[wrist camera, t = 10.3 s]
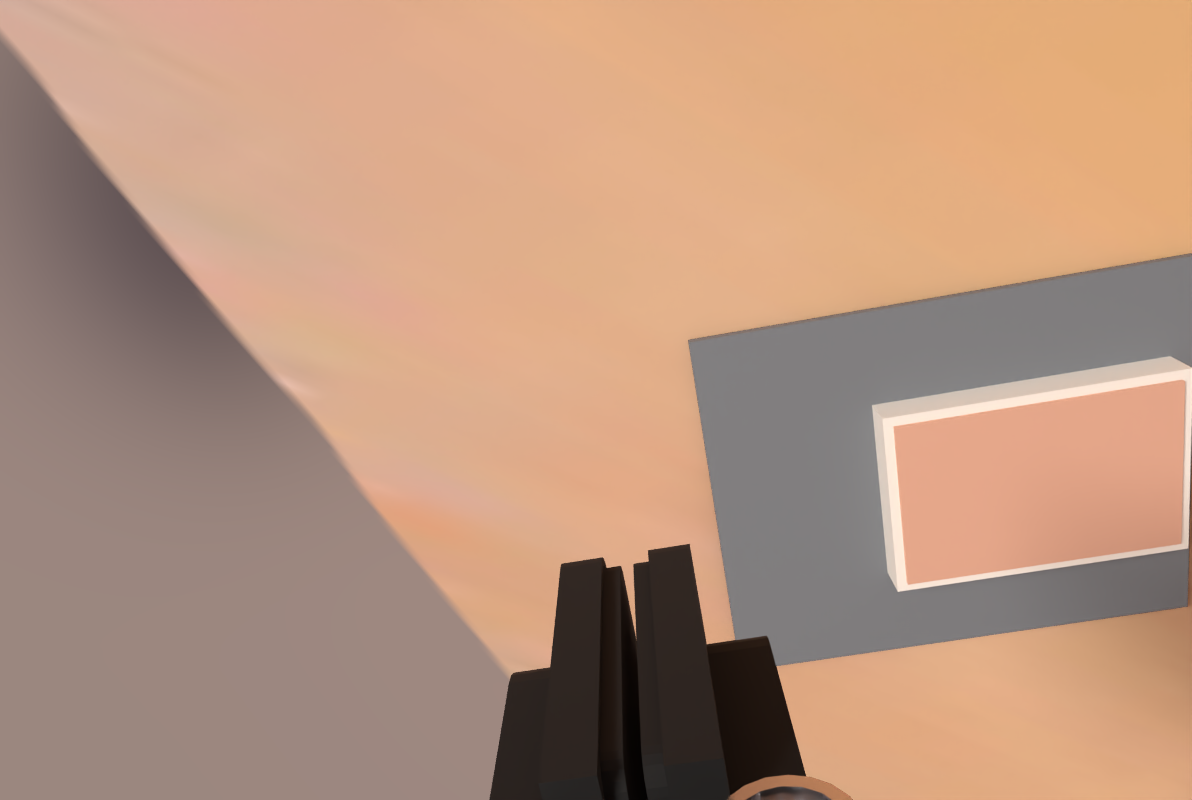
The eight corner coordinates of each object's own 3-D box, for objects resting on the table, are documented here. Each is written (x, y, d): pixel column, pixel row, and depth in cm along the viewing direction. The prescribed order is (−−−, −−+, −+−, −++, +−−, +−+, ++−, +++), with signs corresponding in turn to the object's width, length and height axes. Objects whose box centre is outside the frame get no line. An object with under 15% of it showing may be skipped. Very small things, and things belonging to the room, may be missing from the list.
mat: (1190, 253, 37) (1196, 255, 37) (1182, 601, 43) (1187, 606, 42) (687, 340, 39) (688, 342, 38) (739, 666, 44) (740, 671, 44)
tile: (872, 405, 39) (1170, 356, 38) (887, 572, 42) (1167, 530, 41) (883, 420, 38) (1196, 369, 37) (899, 594, 40) (1191, 550, 39)
